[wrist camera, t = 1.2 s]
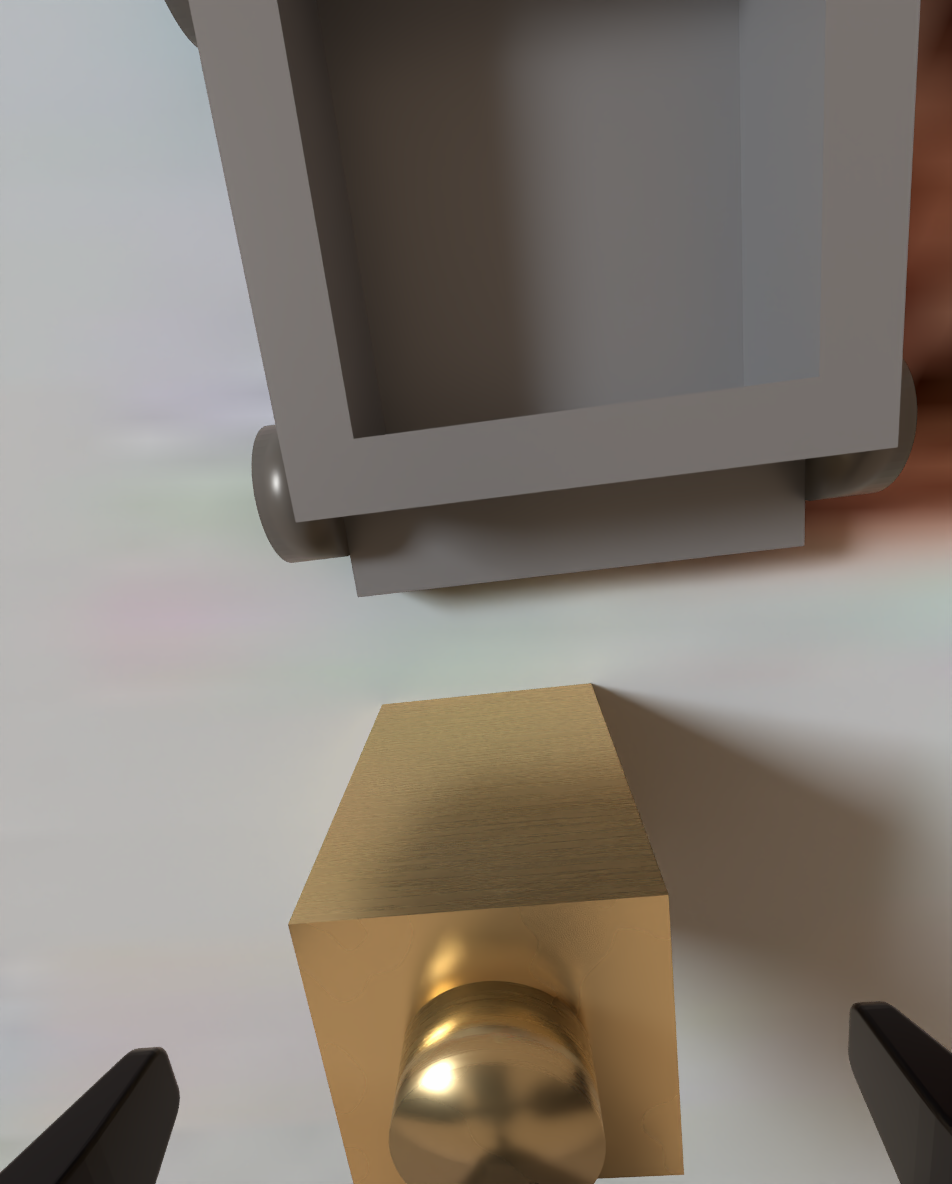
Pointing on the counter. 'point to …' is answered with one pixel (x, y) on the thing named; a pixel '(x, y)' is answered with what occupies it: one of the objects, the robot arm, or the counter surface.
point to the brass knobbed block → (493, 951)
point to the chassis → (566, 272)
